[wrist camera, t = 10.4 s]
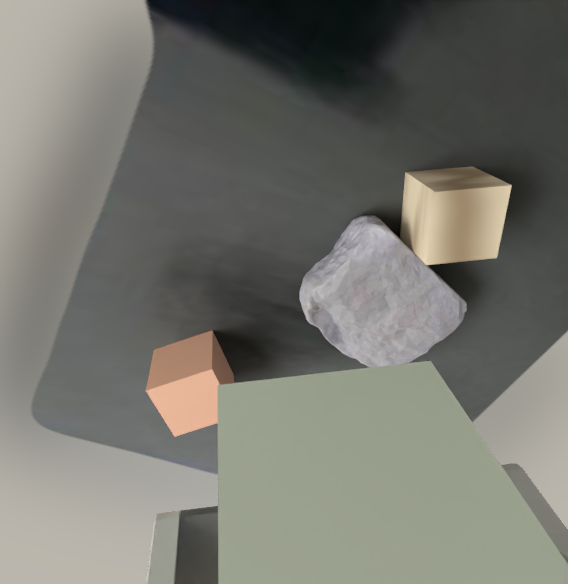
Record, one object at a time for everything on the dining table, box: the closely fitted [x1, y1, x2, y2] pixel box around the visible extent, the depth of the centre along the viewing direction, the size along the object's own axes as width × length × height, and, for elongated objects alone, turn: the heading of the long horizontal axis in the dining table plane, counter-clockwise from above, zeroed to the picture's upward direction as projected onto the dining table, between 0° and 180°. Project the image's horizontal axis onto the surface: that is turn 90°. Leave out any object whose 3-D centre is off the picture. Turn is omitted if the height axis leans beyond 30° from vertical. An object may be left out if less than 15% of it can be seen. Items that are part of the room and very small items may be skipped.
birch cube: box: [400, 166, 512, 265], centre depth 31 cm, size 5×5×5 cm
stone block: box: [299, 215, 467, 368], centre depth 35 cm, size 12×5×10 cm
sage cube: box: [218, 361, 568, 584], centre depth 9 cm, size 5×5×5 cm
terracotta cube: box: [146, 331, 234, 437], centre depth 35 cm, size 5×5×5 cm
